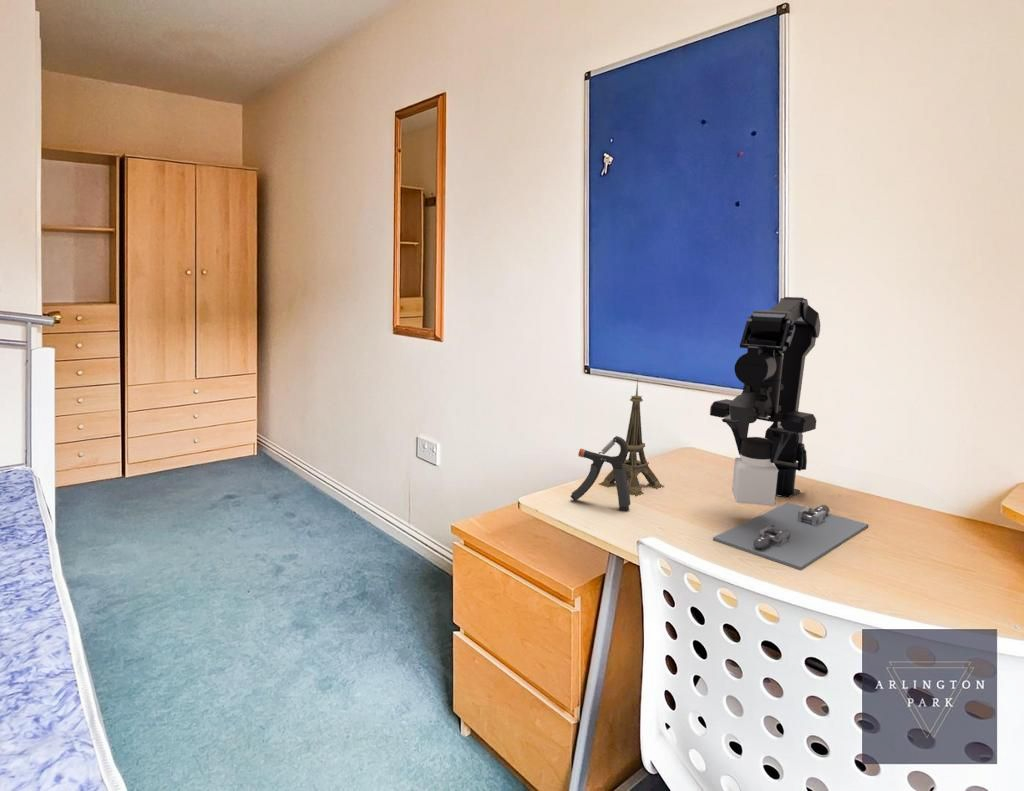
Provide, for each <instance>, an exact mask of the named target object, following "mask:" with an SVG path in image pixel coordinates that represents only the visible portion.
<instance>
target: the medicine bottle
mask: <svg viewBox="0 0 1024 791" xmlns="http://www.w3.org/2000/svg"><path fill="white" fill-rule="evenodd" d="M772 443H773V441H771V440H769V439H767V438H765V437H763V436H762V437H761V436H747V438H744V439H743V440H742V441H741V452H740V455H739V457H735V458H734V465H733V477H732V488H731V491H732V495H733V498H734V501H735V503H740V504H750V505H757V506H758V505H760V506H761V505H762V506H770V507H771V506H772V507H774V506H776V500H777V499H776V498H777V495H776V492H777V482H778V472H779V471H778V469H777V468H776V466H775V464H774V463H771V449H772Z"/></svg>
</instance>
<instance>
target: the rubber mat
mask: <svg viewBox="0 0 1024 791" xmlns="http://www.w3.org/2000/svg"><path fill="white" fill-rule="evenodd" d="M804 508H806V506H802V505H799V504H796V503H791V502H786V503H783V504H782V505H779V506H777V507H775V508H773V509H770V510H769V511H766V512H764V513H762V514H760V515H758V516H756V517H754V518H751V519H750V520H747V521H745V522H743V523H741V524H739V525H737V526H734V527H732V528H730V529H727V530H726V531H724V532H722V533H719V534H717V535H715V536H714V537H712V541H715V542H718V543H721V544H724V545H726V546H729V547H732V548H736V549H739V550H740V551H744V552H747V553H750V554H753V555H754V556H759V557H761V558H765V559H768V560H771V561H774V562H775V563H779V564H782V565H785V566H788V567H791V568H793V569H796V570H800V571H801V570H803V569H805V568H806V567H808V566H809V565H811V564H813V562H815V561H817V560H818V559H819V560H820V558H822V557H824V556H825V555H827V554H828V553H830V552H831V551H833V550H834V549H835V548H838V547H839V546H841V545H842V544H844V543H845V542H847V541H848V540H850V539H852V538H853V537H854V536H856V535H858V534H860V533H861V532H862V531H864V530H865V529H867V528H869V523H865V522H863V521H862V522H861V521H859V520H855V519H850V518H847V517H843V516H840V515H837V514H831V513H830V512H829V513H828V514H826V518H825V521H824V522H822V523H821V524H819V525H817V526H812V522H809V521H806V520H804V521H802V522H798V521H797V519H798V511H800V510H802V509H804ZM814 509H815V508H814ZM814 509H813V508H811V510H813V511H814ZM770 525H775V529H777V530H780V531H784V530H786V529H788V530H791V531H790V541H788V542H786V543H785V544H783V545H781V546H779V547H776V546H774V545H775V543H774V542H772V543H771V545H769V546H767V547H766V548H764V549H762V550H758V549H756V548H755V547H754V545H753V542H754V540H755V539H756V538H758V537H759V535H760V530H762V529H764V528H766V527H768V526H770Z"/></svg>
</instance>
